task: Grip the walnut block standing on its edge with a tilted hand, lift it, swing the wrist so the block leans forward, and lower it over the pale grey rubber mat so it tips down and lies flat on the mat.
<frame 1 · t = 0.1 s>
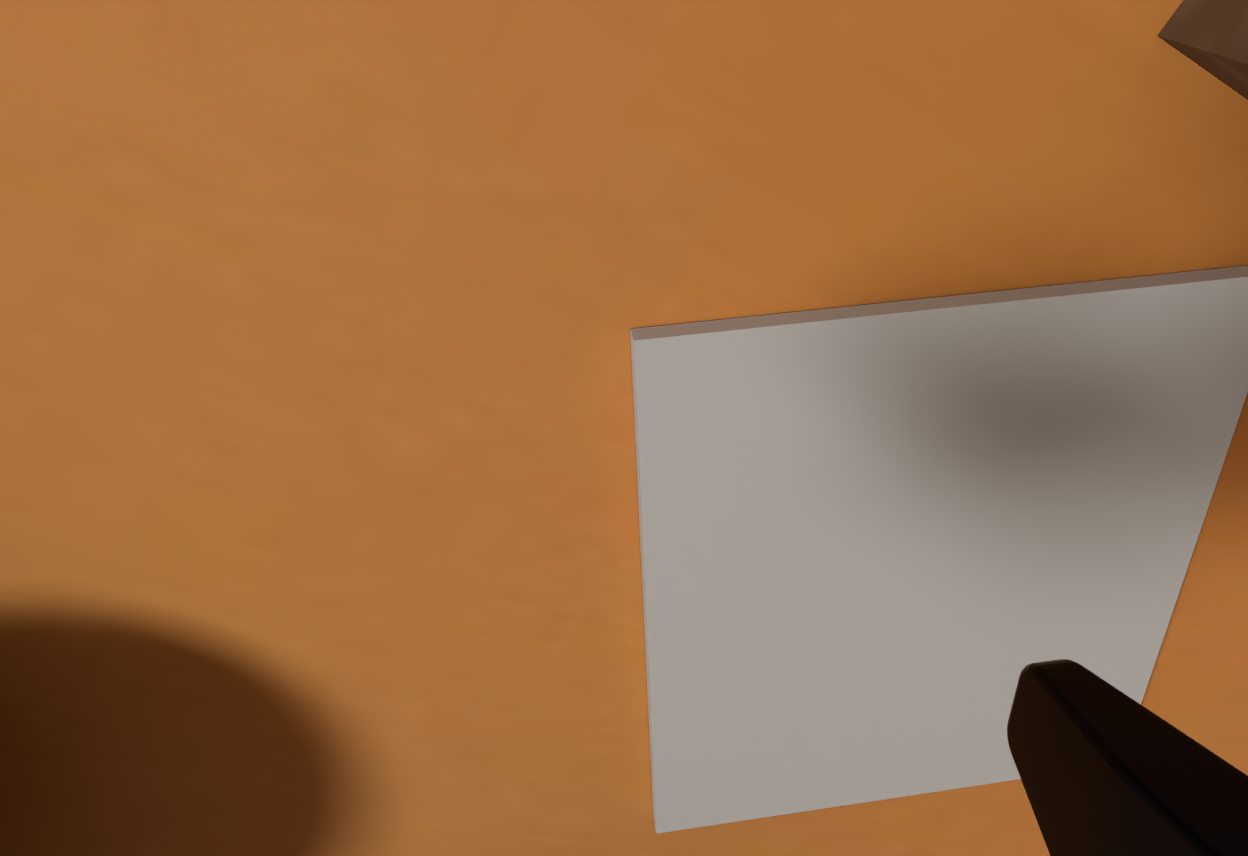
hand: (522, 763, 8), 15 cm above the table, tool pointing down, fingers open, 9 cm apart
grey mat: (917, 580, 28), on the table
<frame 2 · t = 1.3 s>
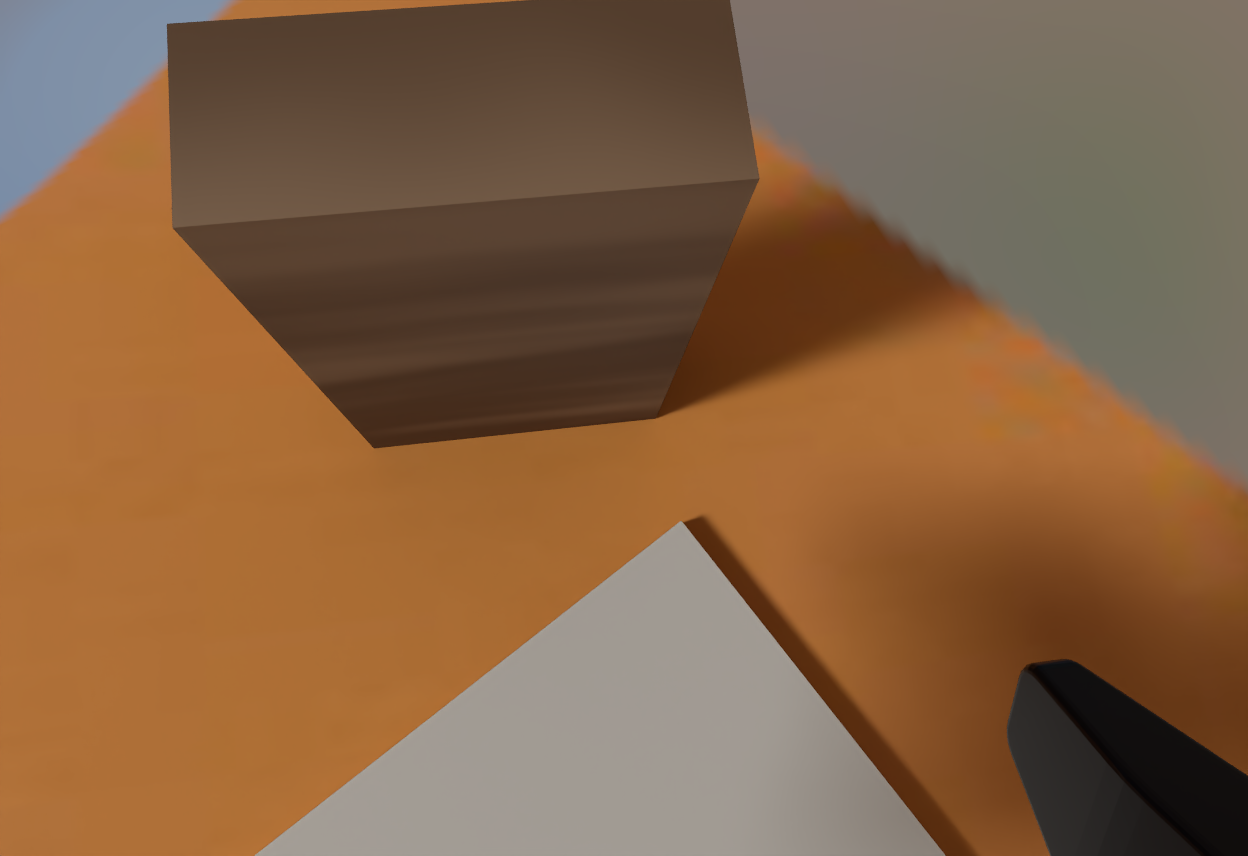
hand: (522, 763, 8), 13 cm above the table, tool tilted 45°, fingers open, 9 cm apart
walnut block: (511, 381, 23), on the table
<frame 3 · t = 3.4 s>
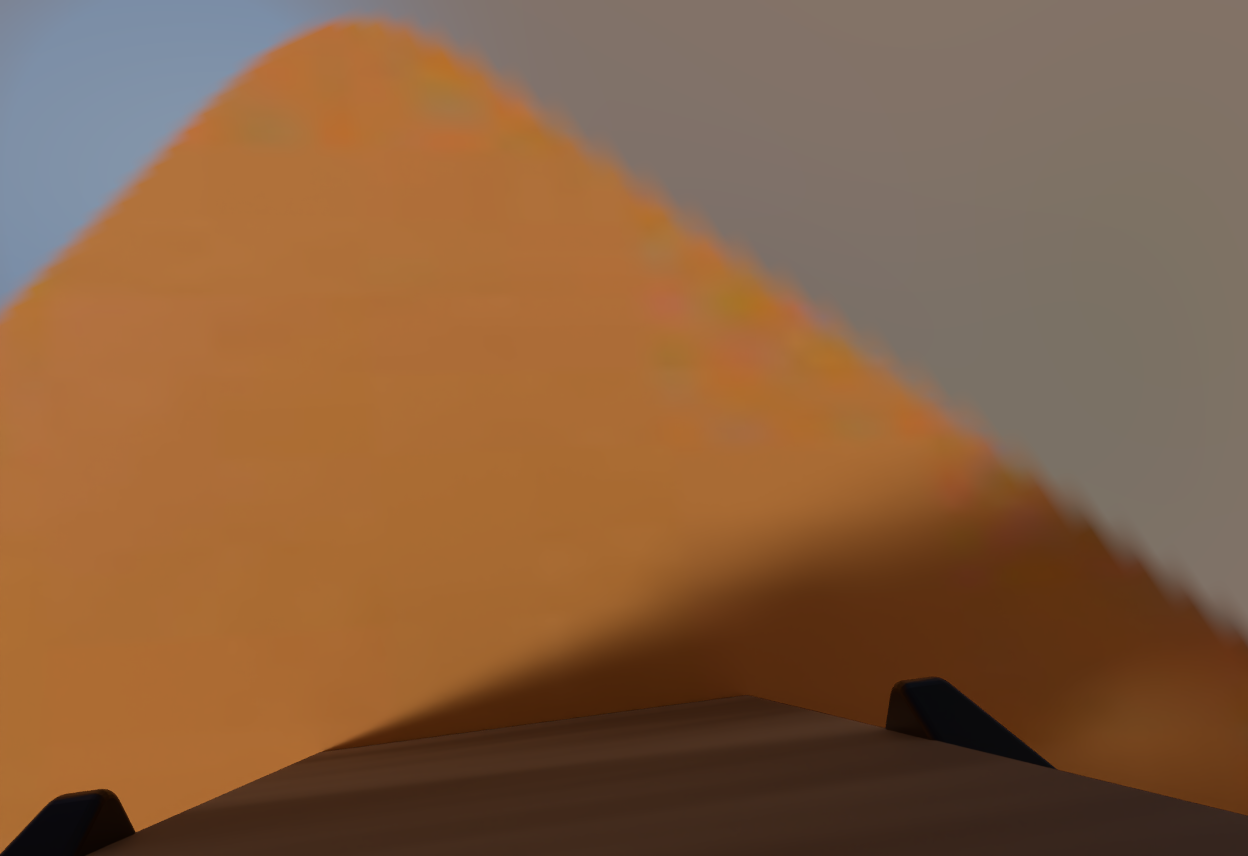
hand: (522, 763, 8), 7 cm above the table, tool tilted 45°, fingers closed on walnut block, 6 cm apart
walnut block: (546, 809, 15), on the table, touching gripper
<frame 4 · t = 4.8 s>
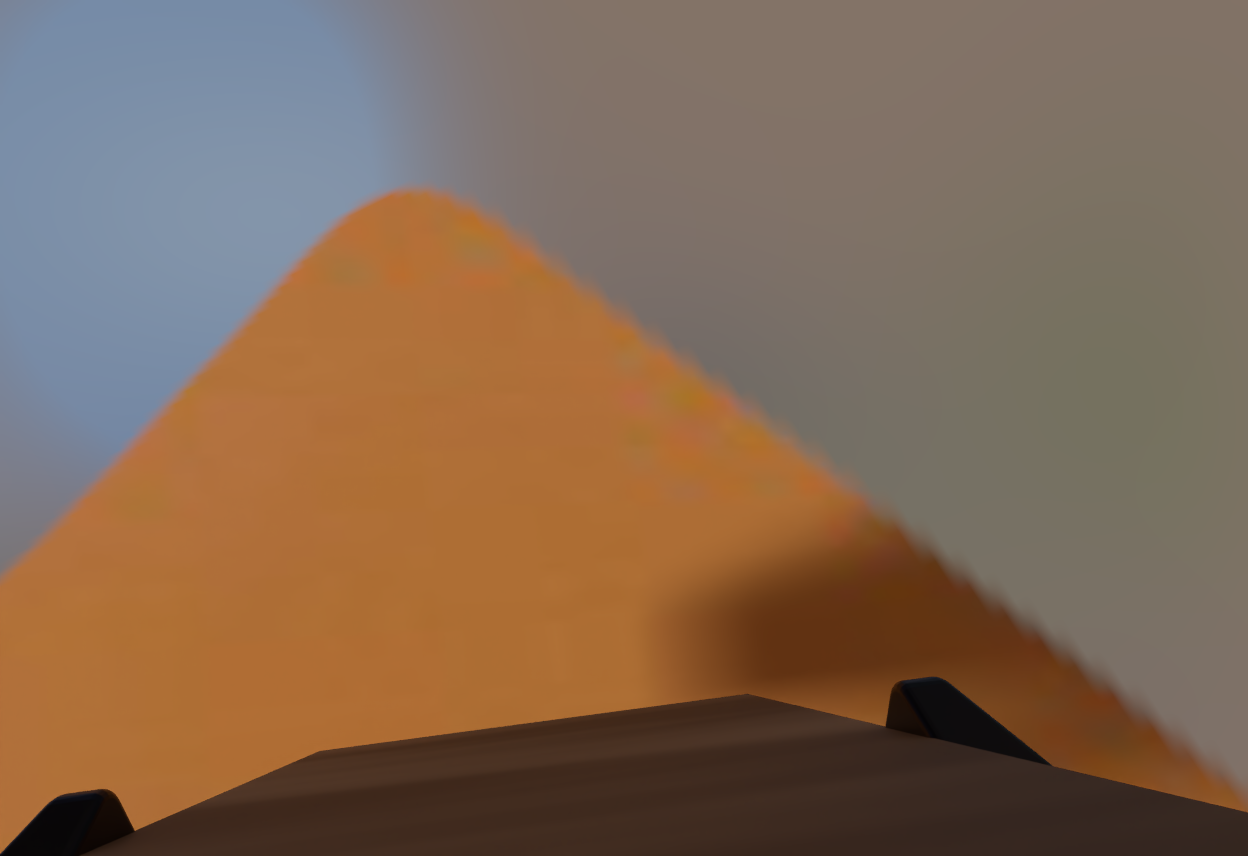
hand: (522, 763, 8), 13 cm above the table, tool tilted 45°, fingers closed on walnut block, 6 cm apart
walnut block: (546, 808, 15), point 7 cm above the table, touching gripper
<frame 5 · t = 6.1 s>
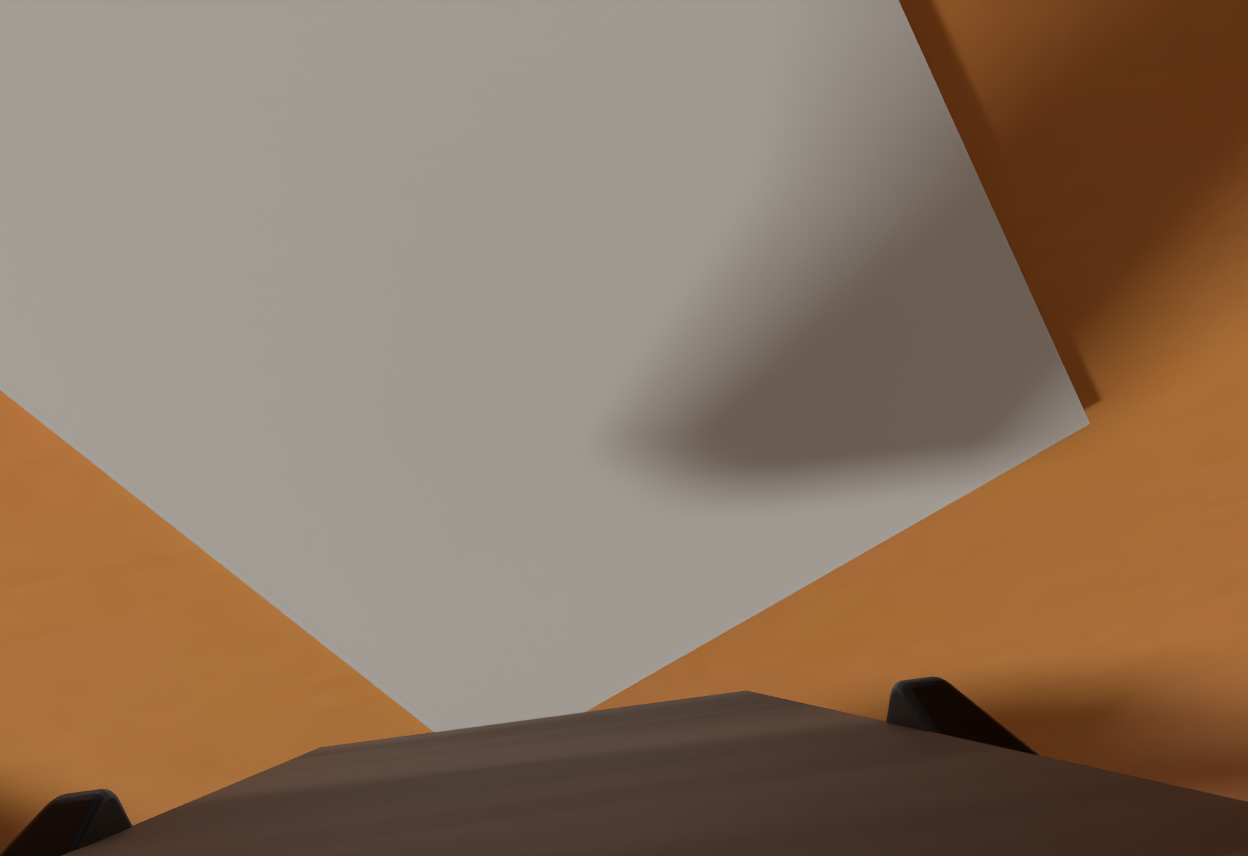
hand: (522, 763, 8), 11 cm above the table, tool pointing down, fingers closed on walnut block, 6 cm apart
walnut block: (546, 804, 15), point 7 cm above the table, tilted 45°, touching gripper
grey mat: (526, 308, 18), on the table
when the fingers open (6 cm above the table, at t = 7.5 s): walnut block moves 1 cm and tips over, resting on grey mat.
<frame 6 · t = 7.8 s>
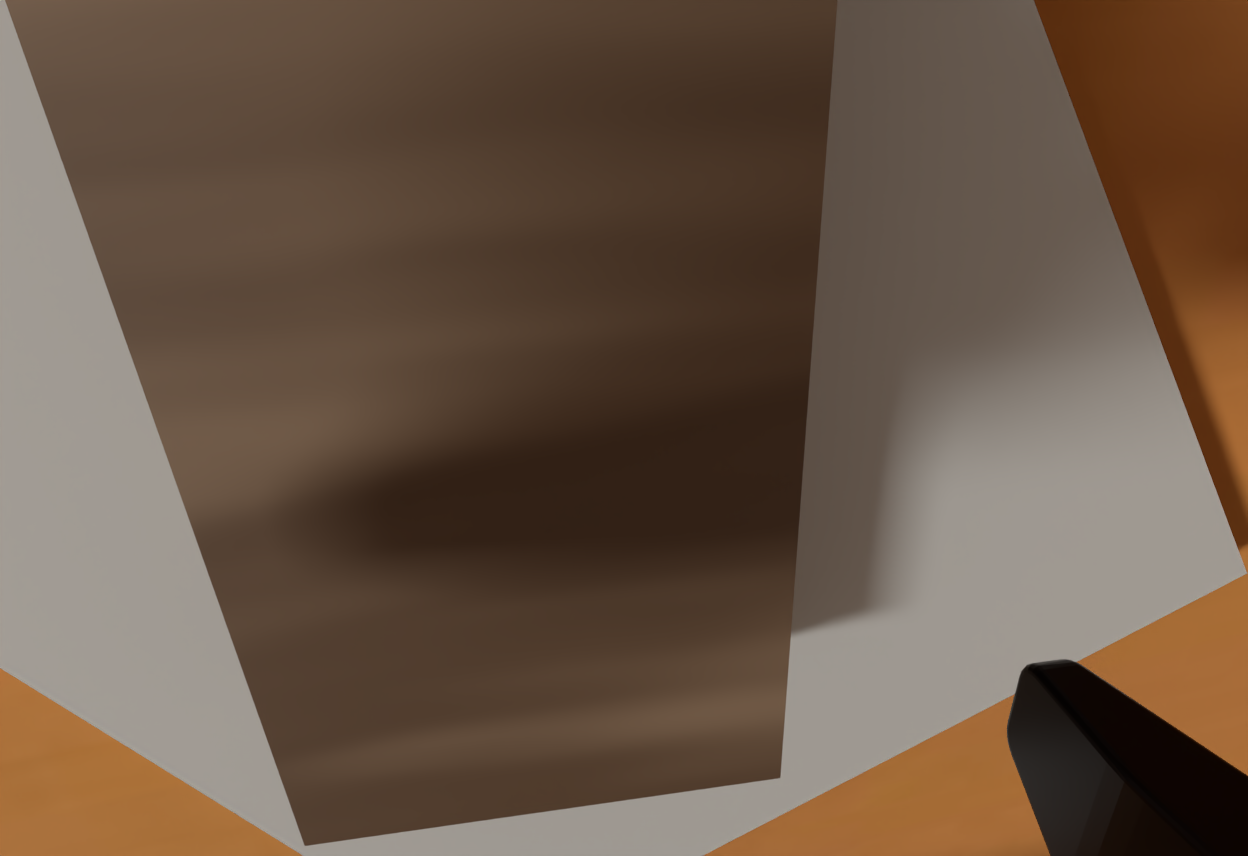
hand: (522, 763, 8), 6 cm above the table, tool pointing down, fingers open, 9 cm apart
walnut block: (541, 738, 14), point 2 cm above the table, tilted 90°, touching grey mat
grey mat: (543, 451, 14), on the table
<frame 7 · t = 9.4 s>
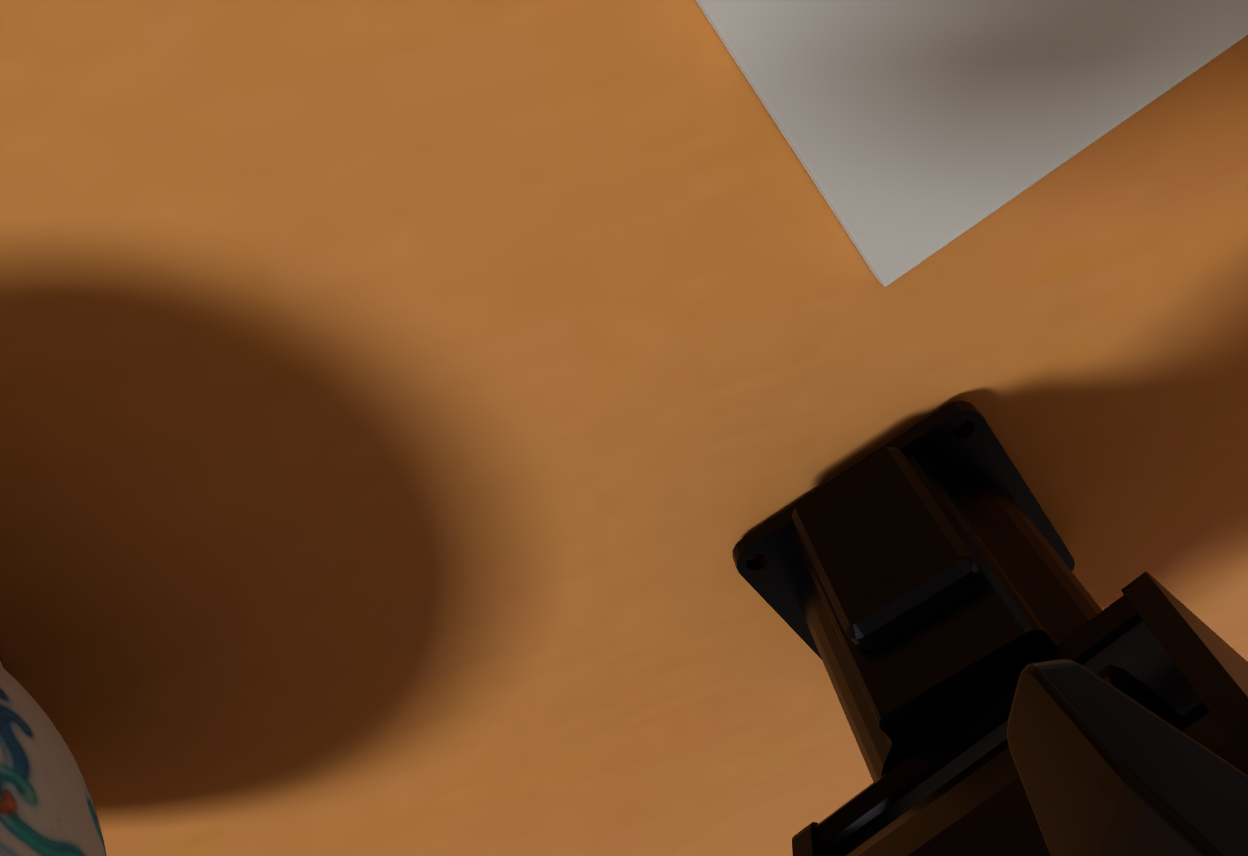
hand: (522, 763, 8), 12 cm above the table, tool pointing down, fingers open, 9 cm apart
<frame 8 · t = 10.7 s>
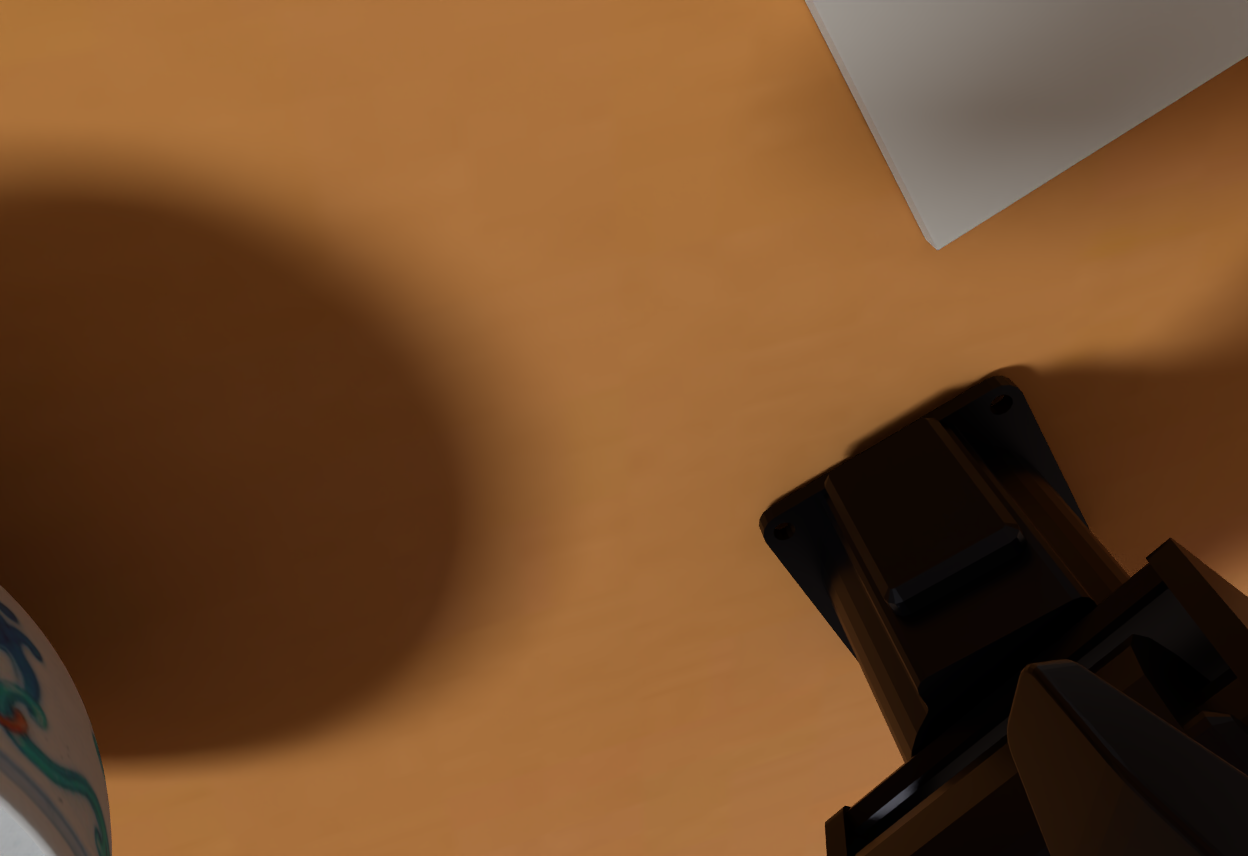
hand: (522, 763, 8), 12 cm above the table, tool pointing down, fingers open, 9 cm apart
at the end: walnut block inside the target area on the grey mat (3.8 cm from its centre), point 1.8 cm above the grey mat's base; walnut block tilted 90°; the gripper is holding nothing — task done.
